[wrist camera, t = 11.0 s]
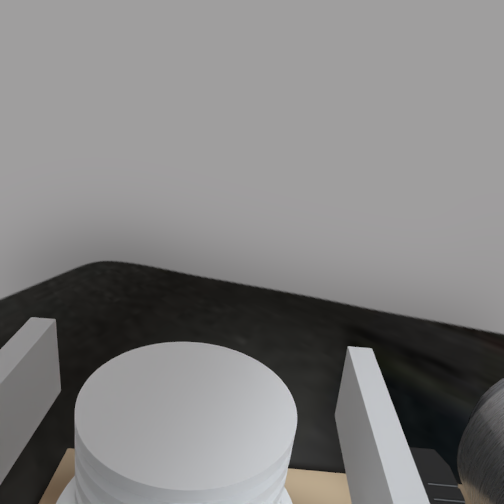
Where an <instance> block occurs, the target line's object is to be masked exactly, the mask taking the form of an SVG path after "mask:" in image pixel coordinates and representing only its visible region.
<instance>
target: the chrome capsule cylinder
mask: <svg viewBox="0 0 504 504" xmlns="http://www.w3.org/2000/svg"><path fill="white" fill-rule="evenodd" d="M457 466H458V473H459V476H460V479H461V482H462V484H463V486H464V489H465V491H466V493H467V495H468V497H469V499H470V501H471V503H472V504H504V378H503V379H502V380H500V381H498V382H497V383H496V384H495V385H493V386H492V387H491V388H490V389H489V390H488V391H487V392H486V393H485V394H484V395H483V396H482V397H481V398H480V400H479V401H478V402H477V404H476V406H475V407H474V409H473V411H472V413H471V416H470V418H469V422H468V425H467V427H466V428H465V430H464V433H463V435H462V438H461V440H460V444H459V448H458V454H457Z"/></svg>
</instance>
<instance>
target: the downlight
mask: <svg viewBox="0 0 504 504" xmlns="http://www.w3.org/2000/svg"><path fill="white" fill-rule="evenodd" d="M296 427H297V410H296V405H295V402H294V399H293V397H292V395H291V393H290V391H289V390H288V388H287V386H286V385H285V384H284V383H283V381H282V380H281V379H280V378H279V377H278V376H277V375H276V374H275V373H274V372H273V371H272V370H270V369H269V368H268V367H266V366H265V365H263V364H262V363H260V362H259V361H257V360H255V359H253V358H251V357H249V356H247V355H245V354H243V353H240V352H238V351H235V350H232V349H229V348H225V347H221V346H217V345H212V344H206V343H197V342H167V343H159V344H153V345H148V346H144V347H140V348H137V349H133V350H131V351H128V352H125V353H123V354H121V355H119V356H117V357H115V358H113V359H111V360H109V361H108V362H106V363H105V364H103V365H102V366H101V367H100V368H98V369H97V370H96V371H95V372H94V373H93V374H92V375H91V376H90V377H89V378H88V379H87V381H86V382H85V383H84V385H83V387H82V388H81V390H80V392H79V394H78V397H77V400H76V405H75V476H74V477H73V478H72V479H71V481H70V482H69V483H68V485H67V486H66V487H65V489H64V490H63V492H62V493H61V495H60V497H59V499H58V500H57V502H56V504H293V503H292V501H291V498H290V496H289V494H288V492H287V490H286V489H285V487H284V485H285V481H286V476H287V471H288V465H289V461H290V456H291V451H292V445H293V441H294V437H295V432H296Z"/></svg>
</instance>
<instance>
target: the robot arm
mask: <svg viewBox="0 0 504 504" xmlns="http://www.w3.org/2000/svg"><path fill="white" fill-rule="evenodd" d="M60 392H61V383H60V370H59V357H58V344H57V331H56V319H46V318H35V317H31V318H30V319H29V320H28V321H27V322H26V323H25V324H24V325H23V326H22V328H21V329H20V330H19V331H18V332H17V333H16V334H15V335H14V336H13V337H12V338H11V339H10V340H9V341H8V342H7V343H6V344H5V345H4V346H3V347H2V348H1V349H0V485H1V483H2V481H3V480H4V478H5V477H6V475H7V474H8V472H9V471H10V469H11V468H12V466H13V464H14V463H15V461H16V460H17V458H18V457H19V455H20V454H21V452H22V450H23V449H24V447H25V446H26V444H27V443H28V441H29V440H30V438H31V437H32V435H33V433H34V432H35V430H36V429H37V427H38V426H39V424H40V423H41V421H42V419H43V418H44V416H45V415H46V413H47V412H48V410H49V409H50V407H51V406H52V404H53V402H54V401H55V399H56V398H57V396H58V395H59V393H60ZM335 420H336V425H337V430H338V435H339V441H340V446H341V451H342V456H343V461H344V466H345V472H346V477H347V482H348V487H349V492H350V497H351V503H352V504H465V499H464V497H463V494H462V492H461V490H460V488H458V484H457V481H456V479H455V477H454V475H453V473H452V470H451V468H450V466H449V465H448V464H447V463H446V462H445V461H444V460H443V459H442V457H441V456H440V455H439V454H438V453H437V452H436V451H435V450H434V449H423V448H413V447H409V446H408V444H407V441H406V438H405V435H404V433H403V430H402V427H401V425H400V422H399V419H398V417H397V414H396V411H395V409H394V406H393V403H392V401H391V398H390V395H389V393H388V390H387V387H386V385H385V382H384V379H383V377H382V374H381V371H380V369H379V366H378V363H377V361H376V358H375V355H374V353H373V350H372V348H362V347H351V346H348V348H347V353H346V359H345V364H344V369H343V375H342V380H341V385H340V390H339V396H338V401H337V406H336V412H335Z"/></svg>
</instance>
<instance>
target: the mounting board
mask: <svg viewBox="0 0 504 504" xmlns="http://www.w3.org/2000/svg"><path fill="white" fill-rule="evenodd" d="M74 476H75V449H70V448H68V449H67V451H66V453H65V455H64V457H63V459H62V460H61V462H60V464H59V466H58V468H57V470H56V472H55V474H54V476H53V478H52V479H51V481H50V483H49V485H48V487H47V489H46V491H45V493H44V495H43V496H42V498H41V500H40V502H39V504H56V502H57V500H58V499H59V497H60V495H61V493H62V492H63V490H64V489H65V487H66V486H67V485H68V483H69V482H70V481H71V479H72V478H73V477H74ZM284 487H285V489H286V490H287V492H288V494H289V496H290V498H291V501H292V503H293V504H352V503H351V497H350V492H349V487H348V482H347V477H346V474H343V473H332V472H321V471H310V470H300V469H289V468H288V471H287V476H286V481H285V485H284ZM458 488H460V490H461V492H462V494H463V497H464V499H465V504H472V503H471V501H470V499H469V497H468V495H467V493H466V491H465V489H464V486H463V484H458Z"/></svg>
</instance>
